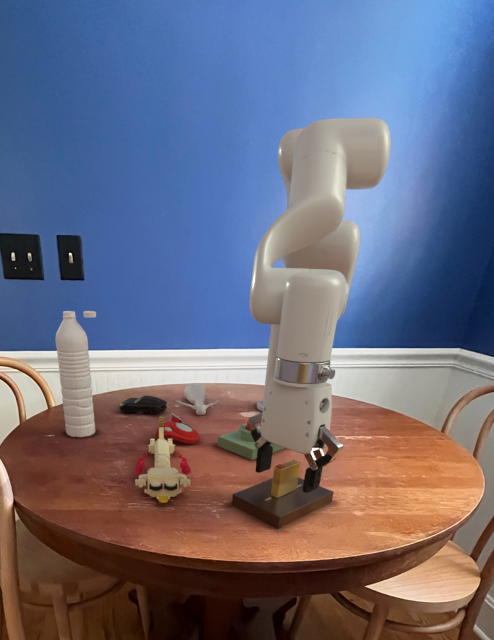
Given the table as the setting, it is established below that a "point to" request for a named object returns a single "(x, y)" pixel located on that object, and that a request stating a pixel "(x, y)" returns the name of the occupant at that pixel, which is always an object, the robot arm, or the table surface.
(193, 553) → the table surface
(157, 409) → the toy car
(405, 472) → the table surface
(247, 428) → the button
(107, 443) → the table surface
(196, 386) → the woman figurine
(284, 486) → the lock knob
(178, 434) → the tracker holder
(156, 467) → the blocky toy figure
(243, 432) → the green button base
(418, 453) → the table surface
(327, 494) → the lock plate
